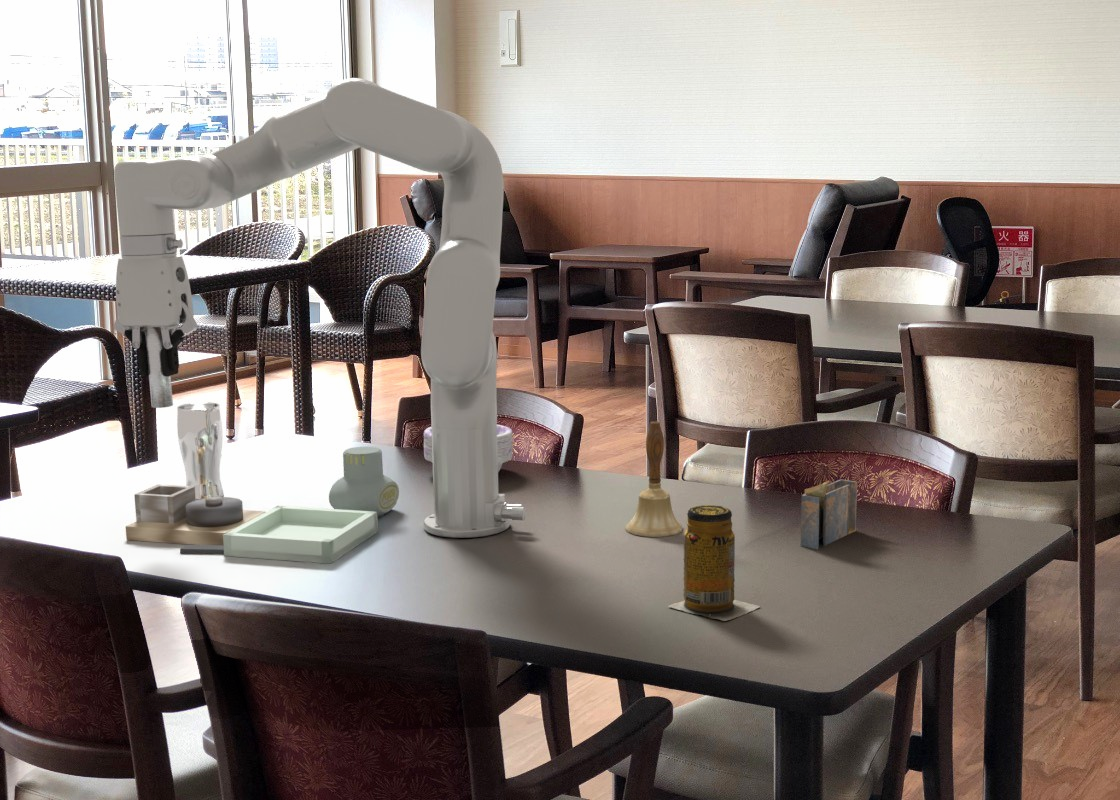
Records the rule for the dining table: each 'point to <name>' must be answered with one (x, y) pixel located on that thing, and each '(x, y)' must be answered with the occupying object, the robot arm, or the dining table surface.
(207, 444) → the beer glass
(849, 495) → the grey split block
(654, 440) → the hand bell
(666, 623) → the dining table surface
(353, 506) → the air freshener
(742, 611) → the condiment
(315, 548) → the tray
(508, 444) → the paper bowls
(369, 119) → the robot arm
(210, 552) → the dark grey bar
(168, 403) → the capped tube
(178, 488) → the wooden base with holder
